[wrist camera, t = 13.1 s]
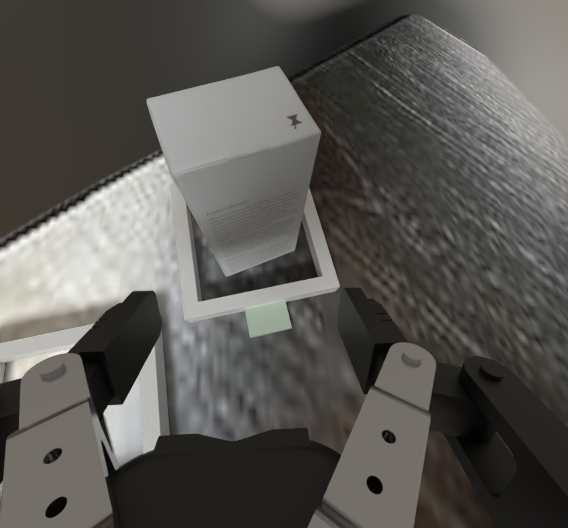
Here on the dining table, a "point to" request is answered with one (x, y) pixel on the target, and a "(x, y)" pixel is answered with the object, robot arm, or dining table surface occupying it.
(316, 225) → the frame
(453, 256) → the dining table surface
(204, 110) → the skincare box
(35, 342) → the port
